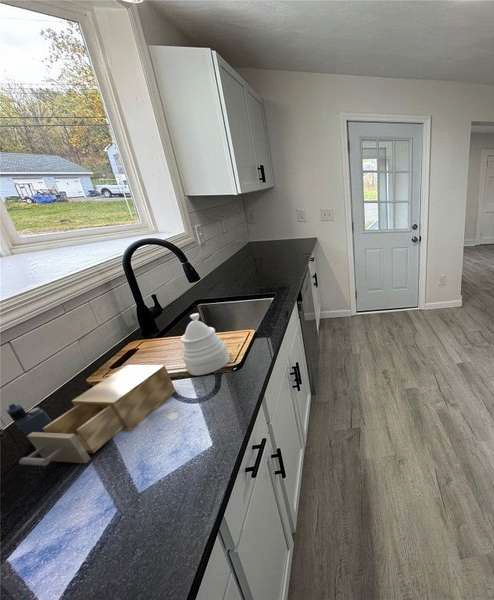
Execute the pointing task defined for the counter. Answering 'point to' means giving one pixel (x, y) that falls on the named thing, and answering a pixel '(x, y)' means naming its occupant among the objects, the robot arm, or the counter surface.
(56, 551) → the counter surface
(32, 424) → the vaping device
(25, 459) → the drawer
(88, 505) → the counter surface
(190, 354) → the honey pot
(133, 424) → the cabinet
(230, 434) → the counter surface
